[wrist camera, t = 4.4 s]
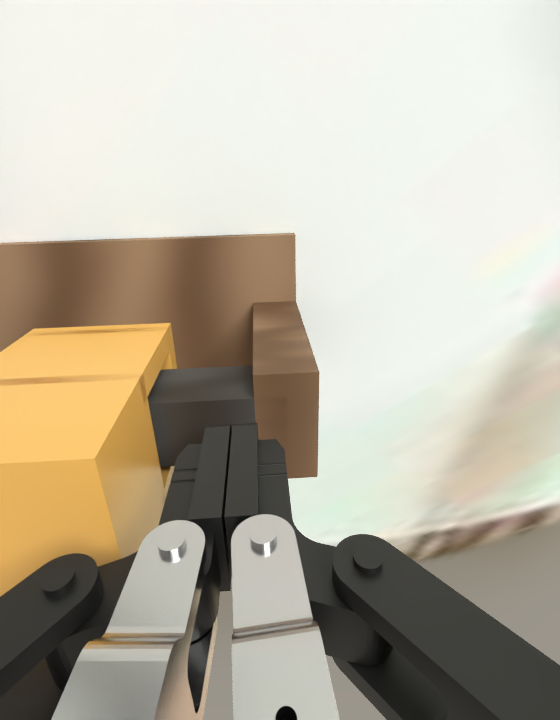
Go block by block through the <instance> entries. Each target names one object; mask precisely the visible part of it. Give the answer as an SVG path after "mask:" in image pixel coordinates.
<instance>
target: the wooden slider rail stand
mask: <svg viewBox="0 0 560 720" xmlns="http://www.w3.org/2000/svg"><path fill="white" fill-rule="evenodd" d="M156 323H171V329H172V336H173V343H174V350H175V356H176V363H177V369H164V370H160V372H159V374H158V376H157V378H156V380H155V383H154V385H153V387H152V389H151V391H150V393H149V395H148V397H147V398H148V403H149V409H150V414H151V420H152V425H153V431H154V436H155V441H156V447H157V452H158V458H159V463H160V467H166V466H175V463H176V459H177V456H178V455H179V454H180V453H181V452H182V450H183V449H184V448H185V447H186V446H187V445H188V444H202V441H203V436H204V431H205V427H206V426H213V425H230V424H231V426H232V425H233V424H245V423H257V425H258V438H259V440H266V439H277V441H278V442H279V443H280V445H281V446H282V447H283V448H284V450H285V459H286V468H287V477H288V478H304V477H317V469H318V409H319V370H318V367H317V364H316V361H315V358H314V355H313V352H312V349H311V346H310V343H309V340H308V337H307V334H306V331H305V328H304V325H303V322H302V319H301V315H300V312H299V309H298V306H297V303H296V278H295V234H294V233H283V234H253V235H224V236H194V237H164V238H134V239H105V240H75V241H45V242H15V243H0V352H1V351H3V350H4V349H6V348H7V347H8V346H10V345H11V344H13V343H14V342H16V341H17V340H18V339H20V338H21V337H23V336H24V335H26V334H27V333H28V332H30V331H31V330H33V329H39V328H62V327H86V326H109V325H133V324H156Z"/></svg>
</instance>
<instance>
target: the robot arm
mask: <svg viewBox="0 0 560 720" xmlns="http://www.w3.org/2000/svg"><path fill="white" fill-rule="evenodd" d="M231 576H232V593H233V634H232V679H233V680H232V683H233V720H340V719H339V715H338V710H337V705H336V701H335V696H334V691H333V687H332V682H331V679H330V673H329V669H328V664H327V659H326V655H329V656H332V657H333V659H334V661H335V663H336V665H337V666H338V667H339V669H340V670H341V671H342V672H343V673H344V674H345V675H346V676H347V677H348V678H349V679H350V680H351V682H352V683H353V684H354V685H355V686H356V687H357V688H358V689H359V690H360V691H361V692H362V693H363V695H364V696H365V697H366V698H367V699H368V700H369V701H370V702H371V703H372V704H373V705H374V706H375V707H376V709H377V710H378V711H379V712H380V713H381V714H382V715H383V716H384V717H385V718H386V719H387V720H560V665H558V664H557V663H556V662H554V661H553V660H551V659H550V658H549V657H547V656H546V655H544V654H543V653H542V652H540V651H539V650H537V649H536V648H535V647H533V646H532V645H530V644H529V643H528V642H526V641H525V640H524V639H522V638H521V637H519V636H518V635H516V634H515V633H514V632H512V631H511V630H510V629H508V628H507V627H505V626H504V625H502V624H501V623H500V622H498V621H497V620H496V619H494V618H493V617H491V616H490V615H489V614H487V613H486V612H484V611H483V610H481V609H480V608H479V607H477V606H476V605H475V604H473V603H472V602H470V601H469V600H468V599H466V598H465V597H463V596H462V595H461V594H459V593H458V592H456V591H455V590H454V589H452V588H451V587H449V586H448V585H447V584H445V583H444V582H442V581H441V580H440V579H438V578H437V577H435V576H434V575H433V574H431V573H430V572H428V571H427V570H426V569H424V568H423V567H422V566H420V565H419V564H417V563H416V562H415V561H413V560H412V559H410V558H409V557H408V556H406V555H405V554H403V553H402V552H401V551H399V550H398V549H396V548H395V547H394V546H392V545H391V544H389V543H388V542H386V541H385V540H383V539H381V538H379V537H376V536H373V535H367V534H358V535H353V536H349V537H347V538H345V539H344V540H342V541H341V542H340V543H339V544H338V545H337V547H334V546H330V545H325V544H321V543H317V542H314V541H312V540H310V539H308V538H306V537H305V536H304V535H302V534H301V533H300V532H299V531H298V530H297V528H296V527H295V525H294V523H293V520H292V514H291V505H290V495H289V486H288V477H287V468H286V459H285V450H284V448H283V447H282V446H281V445H280V443H279V442H278V441H277V439H266V440H259V438H258V425H257V423H245V424H233V425H232V426H231V424H230V425H213V426H206V427H205V431H204V436H203V441H202V444H188V445H187V446H186V447H185V448H184V449H183V450H182V452H181V453H180V454H179V455H178V456H177V459H176V463H175V467H174V472H173V474H172V478H171V484H170V485H169V488H168V492H167V496H166V499H165V503H164V507H163V510H162V514H161V518H160V521H159V525H158V527H156V528H155V529H153V530H152V531H151V532H149V533H148V534H147V536H146V537H145V538H144V539H143V541H142V543H141V545H140V547H139V550H138V551H136V552H135V553H133V554H131V555H129V556H127V557H124V558H122V559H119V560H116V561H113V562H110V563H107V564H104V565H101V566H97V564H96V562H95V560H94V559H93V558H92V557H90V556H88V555H85V554H80V553H73V554H67V555H63V556H60V557H58V558H55V559H53V560H51V561H49V562H47V563H46V564H44V565H43V566H41V567H40V568H39V569H37V570H36V571H35V572H33V573H32V574H30V575H29V576H28V577H26V578H25V579H24V580H22V581H21V582H20V583H18V584H17V585H15V586H14V587H13V588H11V589H10V590H9V591H7V592H6V593H5V594H3V595H2V596H0V720H203V717H204V710H205V704H206V698H207V690H208V685H209V678H210V671H211V665H212V659H213V652H214V646H215V639H216V632H217V626H218V621H217V614H218V606H219V594H220V591H230V589H231Z"/></svg>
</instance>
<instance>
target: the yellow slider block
mask: <svg viewBox="0 0 560 720" xmlns="http://www.w3.org/2000/svg"><path fill="white" fill-rule="evenodd" d="M164 369H177V363H176V356H175V350H174V343H173V336H172V329H171V323H156V324H133V325H109V326H86V327H62V328H39V329H33V330H31V331H30V332H28V333H27V334H26V335H24V336H23V337H21V338H20V339H18V340H17V341H16V342H14V343H13V344H11V345H10V346H8V347H7V348H6V349H4V350H3V351H1V352H0V596H2V595H3V594H5V593H6V592H7V591H9V590H10V589H11V588H13V587H14V586H15V585H17V584H18V583H20V582H21V581H22V580H24V579H25V578H26V577H28V576H29V575H30V574H32V573H33V572H35V571H36V570H37V569H39V568H40V567H41V566H43V565H44V564H46V563H47V562H49V561H51V560H53V559H55V558H58V557H60V556H63V555H67V554H73V553H80V554H85V555H88V556H90V557H92V558H93V559H94V560H95V562H96V564H97V566H101V565H104V564H107V563H110V562H113V561H116V560H119V559H122V558H124V557H127V556H129V555H131V554H133V553H135V552H136V551H138V550H139V547H140V545H141V543H142V541H143V539H144V538H145V537H146V536H147V534H148V533H149V532H151V531H152V530H153V529H155V528H156V527H158V525H159V521H160V518H161V514H162V510H163V507H164V503H165V499H166V496H167V492H168V488H169V485H170V484H171V478H172V474H173V472H174V467H175V466H166V467H160V463H159V458H158V452H157V447H156V441H155V436H154V431H153V425H152V420H151V414H150V409H149V403H148V398H147V397H148V395H149V393H150V391H151V389H152V387H153V385H154V383H155V380H156V378H157V376H158V374H159V372H160V370H164Z"/></svg>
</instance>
